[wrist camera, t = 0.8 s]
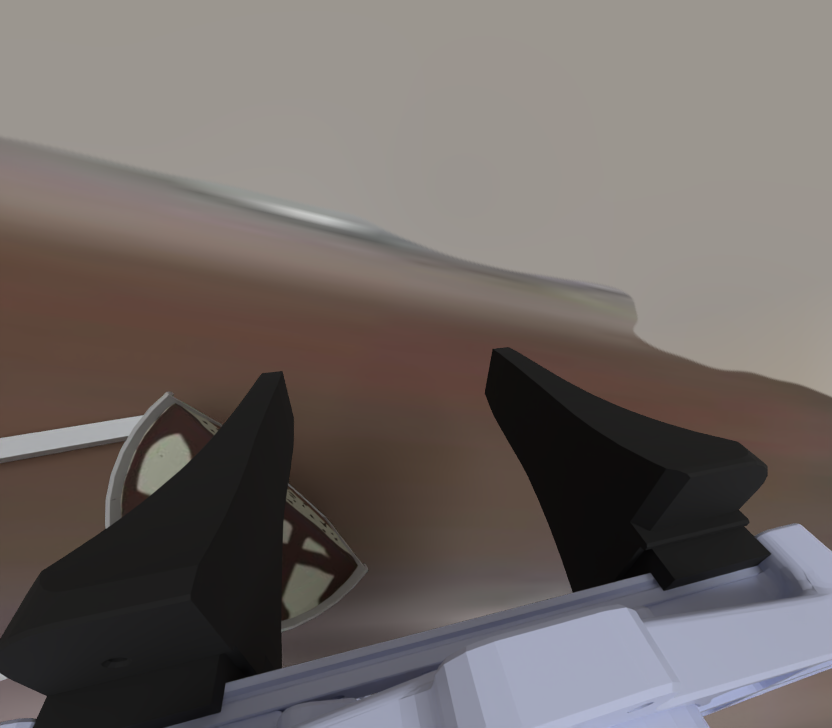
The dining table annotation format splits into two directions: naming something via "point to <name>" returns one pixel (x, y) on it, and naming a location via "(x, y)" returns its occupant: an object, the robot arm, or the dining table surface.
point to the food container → (303, 523)
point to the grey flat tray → (65, 441)
